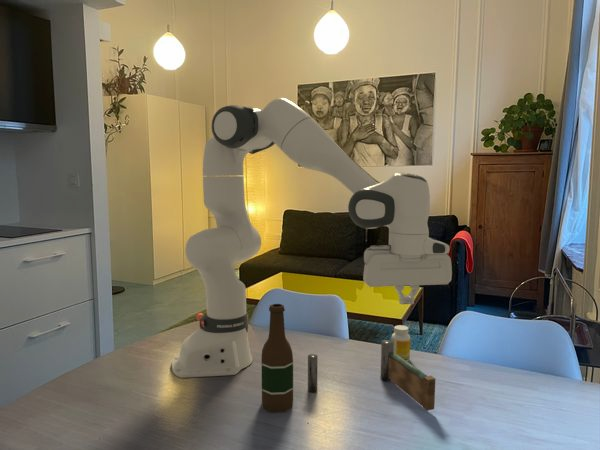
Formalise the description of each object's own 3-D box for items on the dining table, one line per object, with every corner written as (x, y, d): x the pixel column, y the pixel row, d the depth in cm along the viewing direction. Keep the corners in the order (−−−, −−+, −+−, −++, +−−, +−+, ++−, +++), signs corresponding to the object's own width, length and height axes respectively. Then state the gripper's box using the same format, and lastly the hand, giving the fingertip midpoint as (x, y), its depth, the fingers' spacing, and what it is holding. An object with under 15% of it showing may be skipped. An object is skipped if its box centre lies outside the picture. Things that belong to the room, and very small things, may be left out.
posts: (389, 375, 123) (390, 339, 121) (395, 380, 120) (396, 343, 118) (305, 388, 115) (305, 350, 114) (310, 394, 112) (310, 355, 111)
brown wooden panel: (387, 378, 118) (388, 351, 117) (394, 377, 119) (395, 350, 118) (426, 410, 102) (427, 379, 101) (434, 409, 103) (435, 378, 102)
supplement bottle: (387, 358, 134) (387, 326, 132) (398, 354, 137) (399, 323, 136) (401, 364, 129) (402, 332, 128) (413, 359, 133) (414, 327, 132)
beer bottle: (268, 417, 102) (268, 312, 99) (255, 401, 109) (254, 303, 106) (299, 408, 105) (299, 307, 103) (285, 394, 112) (284, 298, 109)
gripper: (368, 247, 100) (366, 309, 101) (456, 246, 103) (453, 305, 104) (360, 243, 106) (359, 301, 108) (443, 241, 109) (441, 298, 110)
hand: (406, 303), depth 106 cm, fingers closed
